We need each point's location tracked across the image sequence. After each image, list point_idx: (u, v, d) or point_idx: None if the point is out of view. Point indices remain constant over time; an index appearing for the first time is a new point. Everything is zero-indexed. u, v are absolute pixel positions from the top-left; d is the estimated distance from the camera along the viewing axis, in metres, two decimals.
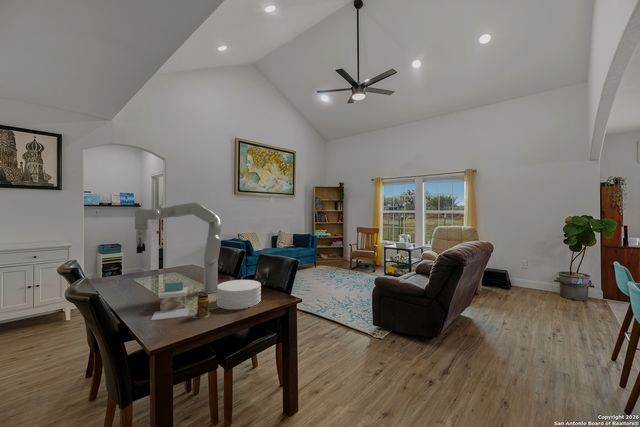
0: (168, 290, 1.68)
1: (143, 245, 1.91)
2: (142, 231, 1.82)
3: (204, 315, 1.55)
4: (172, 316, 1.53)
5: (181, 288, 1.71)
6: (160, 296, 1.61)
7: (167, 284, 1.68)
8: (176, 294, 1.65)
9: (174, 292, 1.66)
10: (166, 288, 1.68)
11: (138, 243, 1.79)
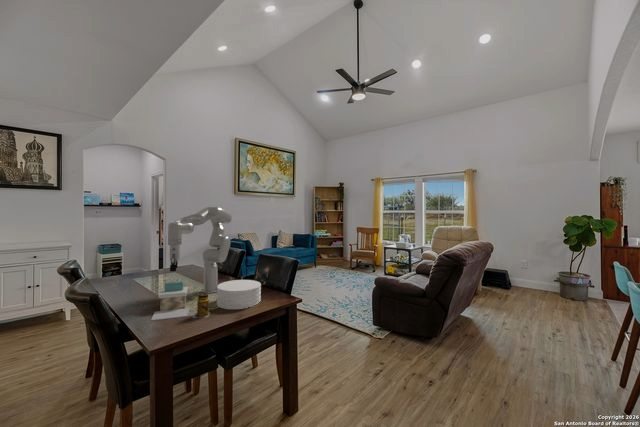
0: (168, 290, 1.68)
1: (175, 262, 1.75)
2: (176, 247, 1.67)
3: (204, 315, 1.55)
4: (172, 316, 1.53)
5: (181, 288, 1.71)
6: (160, 296, 1.61)
7: (167, 284, 1.68)
8: (176, 294, 1.65)
9: (174, 292, 1.66)
10: (166, 288, 1.68)
11: (172, 260, 1.63)
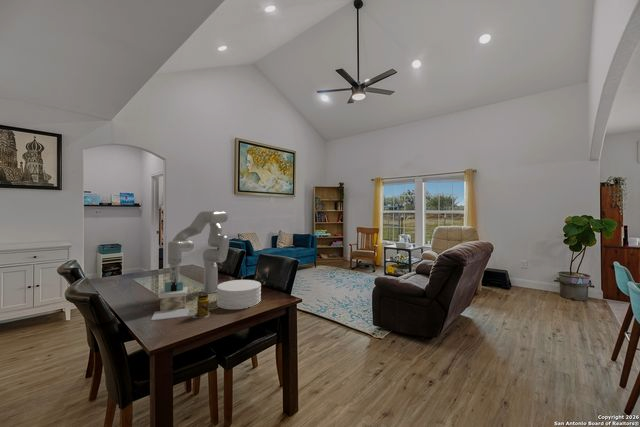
0: (168, 290, 1.68)
1: None
2: (176, 266, 1.67)
3: (204, 315, 1.55)
4: (172, 316, 1.53)
5: (181, 288, 1.71)
6: (160, 296, 1.61)
7: (167, 284, 1.68)
8: (176, 294, 1.65)
9: (174, 292, 1.66)
10: (166, 288, 1.68)
11: (173, 282, 1.66)
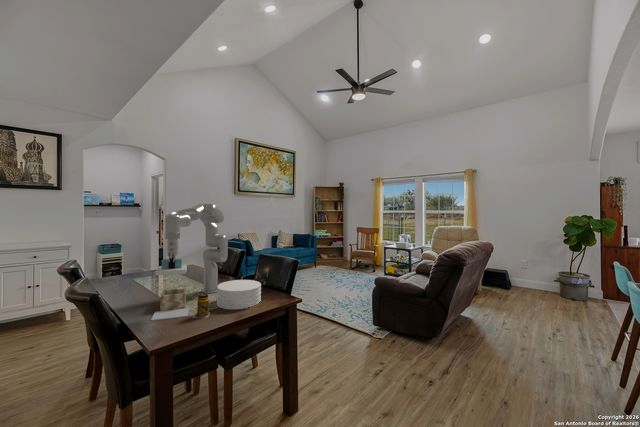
0: (165, 267, 1.54)
1: None
2: (174, 241, 1.53)
3: (204, 315, 1.55)
4: (172, 316, 1.53)
5: (180, 266, 1.57)
6: (156, 273, 1.48)
7: (164, 261, 1.54)
8: (174, 271, 1.51)
9: (172, 269, 1.52)
10: (163, 265, 1.54)
11: (171, 258, 1.52)
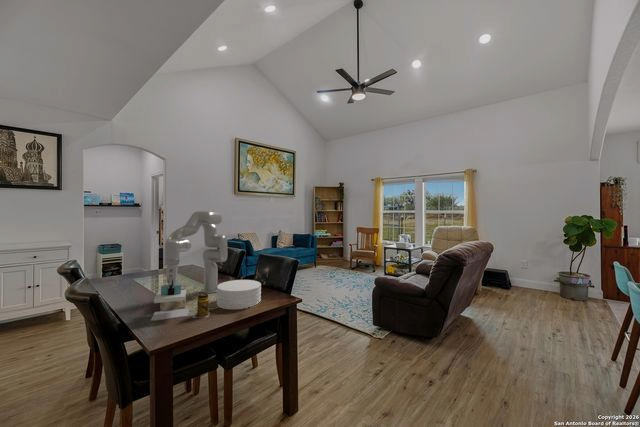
0: (165, 294, 1.54)
1: None
2: (174, 268, 1.53)
3: (204, 315, 1.55)
4: (172, 316, 1.53)
5: (179, 292, 1.57)
6: (156, 300, 1.47)
7: (164, 287, 1.54)
8: (173, 298, 1.51)
9: (171, 296, 1.52)
10: (162, 292, 1.54)
11: (170, 285, 1.52)
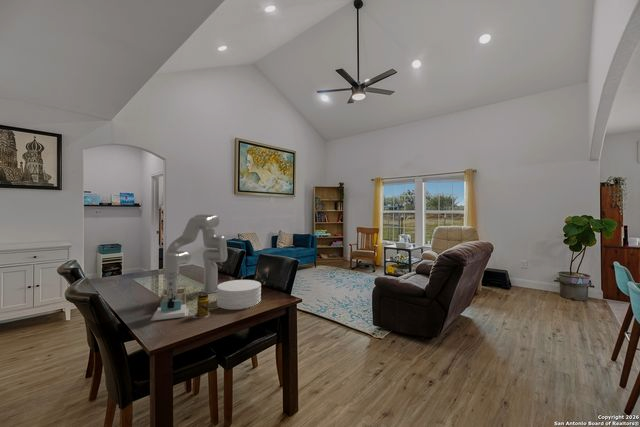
0: (165, 310, 1.54)
1: None
2: (173, 281, 1.53)
3: (204, 315, 1.55)
4: None
5: (179, 307, 1.57)
6: (156, 317, 1.48)
7: (164, 303, 1.54)
8: (173, 315, 1.51)
9: (171, 312, 1.53)
10: (163, 308, 1.54)
11: (170, 298, 1.51)
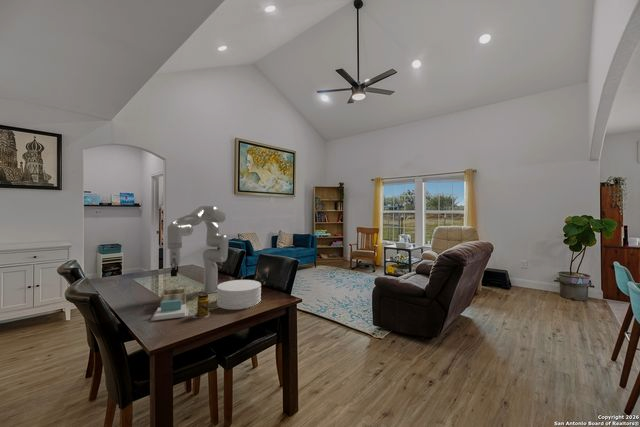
0: (165, 310, 1.54)
1: None
2: (176, 251, 1.58)
3: (204, 315, 1.55)
4: None
5: (179, 307, 1.57)
6: (156, 317, 1.48)
7: (164, 303, 1.54)
8: (173, 315, 1.51)
9: (171, 312, 1.53)
10: (163, 308, 1.54)
11: (173, 265, 1.54)
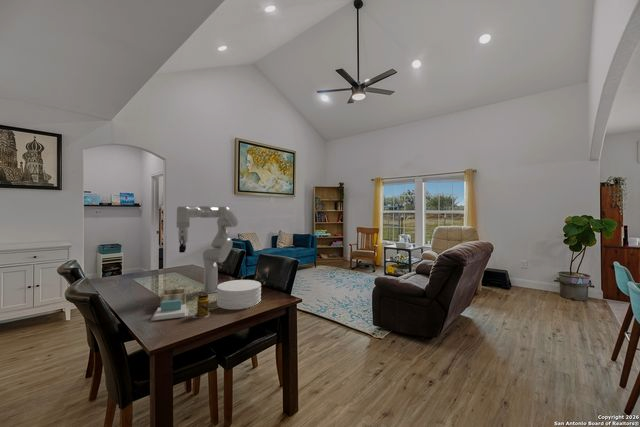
0: (165, 310, 1.54)
1: None
2: (185, 229, 1.75)
3: (204, 315, 1.55)
4: None
5: (179, 307, 1.57)
6: (156, 317, 1.48)
7: (164, 303, 1.54)
8: (173, 315, 1.51)
9: (171, 312, 1.53)
10: (163, 308, 1.54)
11: (181, 242, 1.71)
